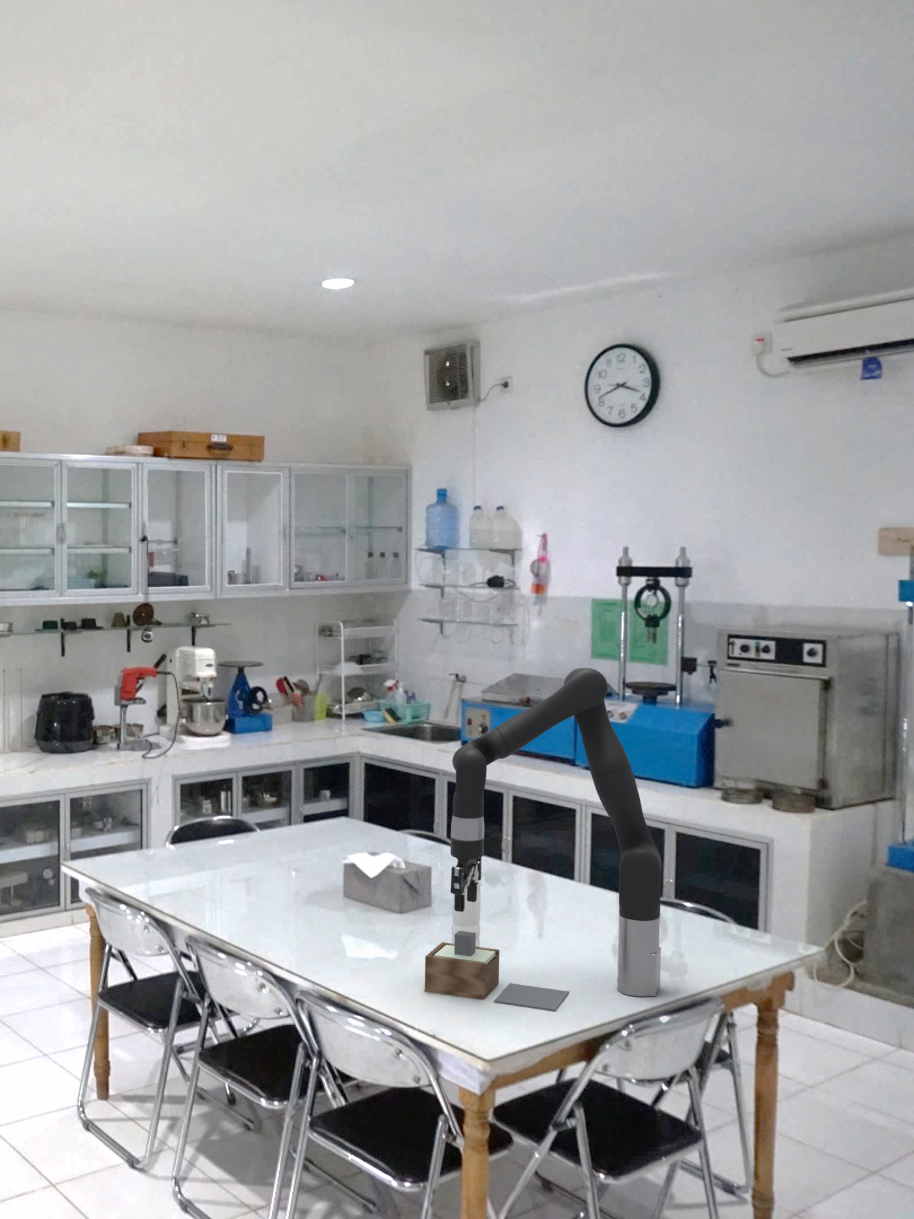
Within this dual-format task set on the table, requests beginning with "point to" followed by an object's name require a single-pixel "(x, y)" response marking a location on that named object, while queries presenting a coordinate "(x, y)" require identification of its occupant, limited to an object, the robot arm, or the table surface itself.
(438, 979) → the box
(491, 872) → the table surface
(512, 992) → the mat
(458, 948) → the lid
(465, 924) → the water bottle
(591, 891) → the table surface
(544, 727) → the robot arm
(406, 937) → the table surface
